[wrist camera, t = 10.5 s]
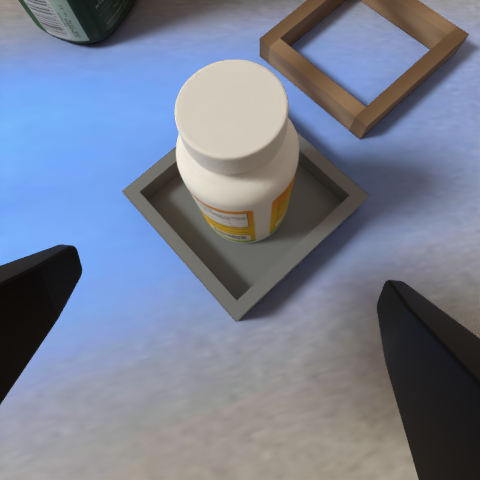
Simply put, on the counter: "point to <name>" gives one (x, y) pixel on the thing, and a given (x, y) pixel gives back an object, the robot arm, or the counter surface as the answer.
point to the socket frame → (331, 94)
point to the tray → (246, 254)
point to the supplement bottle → (237, 148)
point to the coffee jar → (77, 17)
